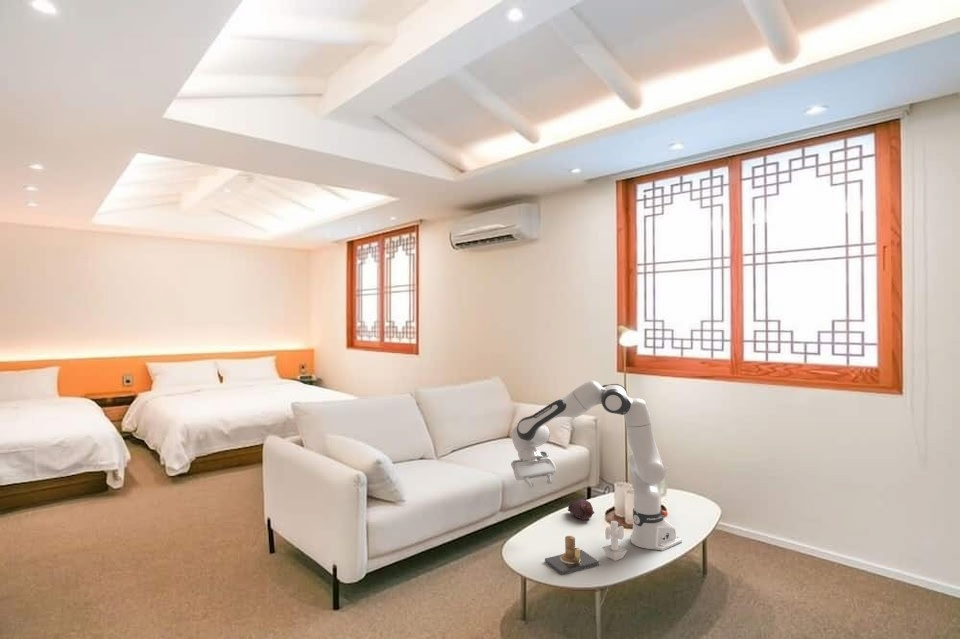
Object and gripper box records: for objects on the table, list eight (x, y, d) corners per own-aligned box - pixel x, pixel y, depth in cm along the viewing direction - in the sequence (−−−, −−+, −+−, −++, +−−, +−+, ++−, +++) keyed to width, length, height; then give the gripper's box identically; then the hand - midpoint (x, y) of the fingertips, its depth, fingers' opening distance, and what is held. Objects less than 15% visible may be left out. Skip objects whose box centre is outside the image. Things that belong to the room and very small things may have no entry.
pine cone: (560, 515, 267) (564, 495, 271) (574, 522, 270) (578, 502, 275) (584, 516, 253) (588, 495, 257) (599, 523, 256) (602, 502, 261)
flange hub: (572, 553, 221) (572, 533, 221) (582, 560, 214) (582, 539, 214) (558, 556, 218) (558, 536, 218) (568, 564, 211) (567, 542, 211)
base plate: (581, 553, 224) (581, 549, 224) (599, 565, 214) (598, 561, 213) (545, 562, 217) (544, 558, 217) (561, 574, 206) (561, 570, 206)
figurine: (613, 551, 226) (612, 516, 226) (629, 559, 218) (629, 523, 217) (600, 555, 222) (599, 519, 222) (616, 564, 214) (615, 527, 214)
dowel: (578, 562, 213) (577, 547, 213) (581, 564, 211) (580, 549, 211) (573, 563, 212) (573, 548, 212) (576, 565, 210) (576, 550, 210)
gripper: (512, 457, 238) (523, 485, 229) (550, 451, 247) (562, 478, 238) (507, 464, 242) (518, 492, 233) (545, 459, 251) (557, 485, 242)
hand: (541, 485), depth 236 cm, fingers open, 8 cm apart
